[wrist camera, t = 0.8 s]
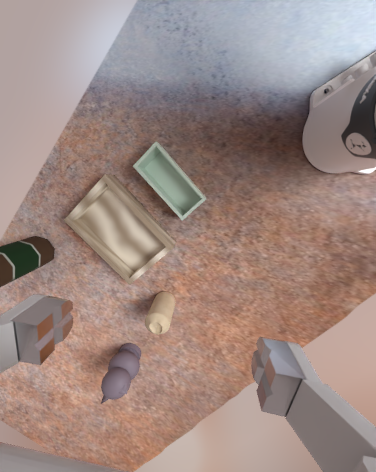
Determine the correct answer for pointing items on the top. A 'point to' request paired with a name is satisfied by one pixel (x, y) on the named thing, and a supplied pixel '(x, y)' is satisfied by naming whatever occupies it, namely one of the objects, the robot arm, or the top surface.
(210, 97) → the top surface
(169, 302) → the candle
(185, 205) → the green crate
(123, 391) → the cat figurine
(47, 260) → the beer bottle
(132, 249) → the box
